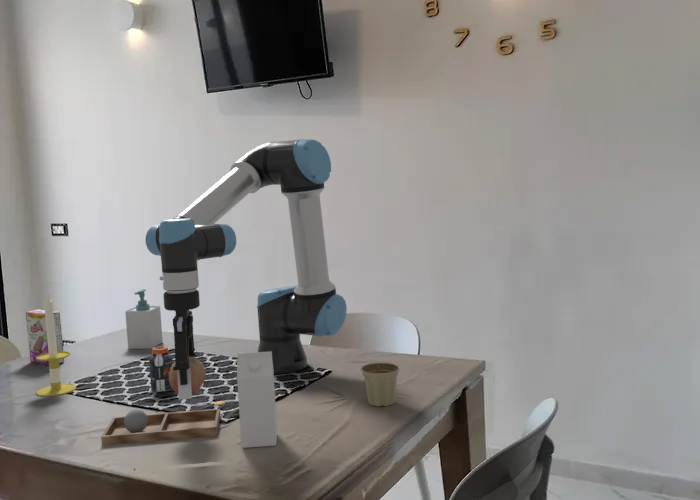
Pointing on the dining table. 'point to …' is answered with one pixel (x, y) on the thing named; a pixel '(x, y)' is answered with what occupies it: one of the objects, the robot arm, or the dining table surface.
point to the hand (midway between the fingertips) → (187, 392)
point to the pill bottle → (160, 369)
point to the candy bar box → (41, 334)
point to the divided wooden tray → (165, 427)
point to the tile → (207, 403)
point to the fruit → (196, 375)
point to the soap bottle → (143, 325)
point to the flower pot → (380, 382)
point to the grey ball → (135, 421)
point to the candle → (53, 357)
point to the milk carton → (256, 399)
